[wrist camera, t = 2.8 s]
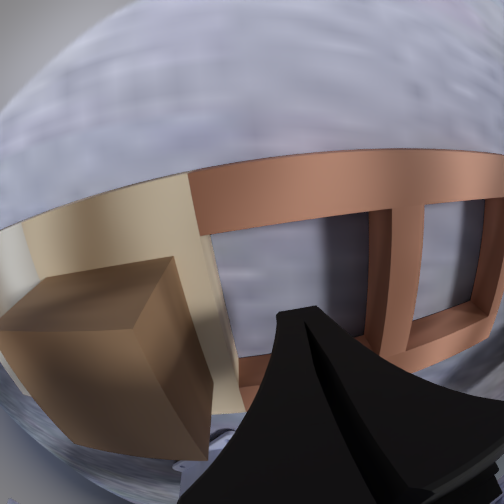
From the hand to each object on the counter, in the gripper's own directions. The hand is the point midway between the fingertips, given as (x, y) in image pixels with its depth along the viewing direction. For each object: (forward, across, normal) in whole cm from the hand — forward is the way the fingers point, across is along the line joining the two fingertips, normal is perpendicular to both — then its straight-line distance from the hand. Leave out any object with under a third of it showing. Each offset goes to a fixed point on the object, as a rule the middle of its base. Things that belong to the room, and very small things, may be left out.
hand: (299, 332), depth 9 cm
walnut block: (+1, +7, 0) cm, 7 cm away
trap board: (+3, +3, 0) cm, 4 cm away
